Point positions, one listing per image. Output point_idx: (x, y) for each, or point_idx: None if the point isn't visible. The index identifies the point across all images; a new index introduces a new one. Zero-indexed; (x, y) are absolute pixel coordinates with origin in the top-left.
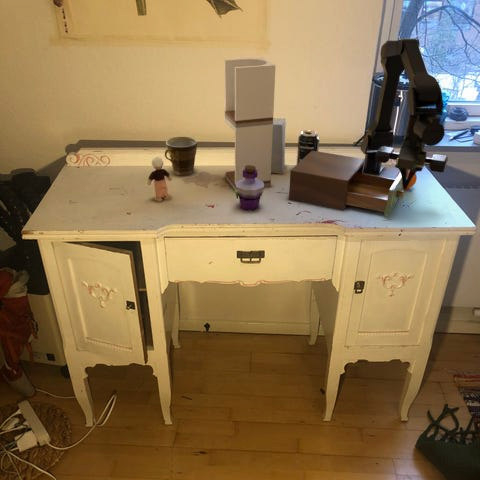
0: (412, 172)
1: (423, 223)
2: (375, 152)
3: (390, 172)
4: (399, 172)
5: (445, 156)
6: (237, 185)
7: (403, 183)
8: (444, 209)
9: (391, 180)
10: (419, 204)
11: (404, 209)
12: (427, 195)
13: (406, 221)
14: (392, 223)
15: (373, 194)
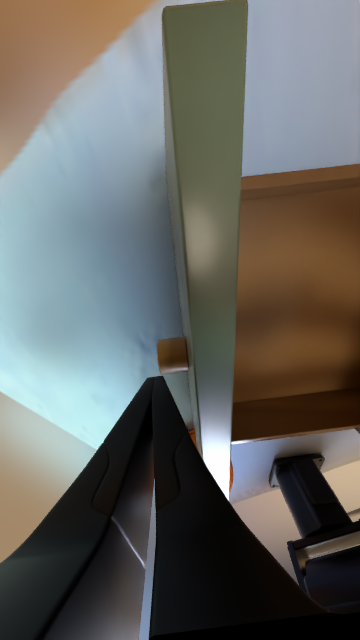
0: (46, 558)
1: (14, 233)
2: (332, 536)
3: (249, 476)
4: (231, 483)
5: None
6: None
7: (165, 397)
8: (37, 385)
9: (244, 433)
10: (118, 377)
11: (144, 319)
12: None
13: (83, 208)
14: (127, 134)
15: (282, 337)
